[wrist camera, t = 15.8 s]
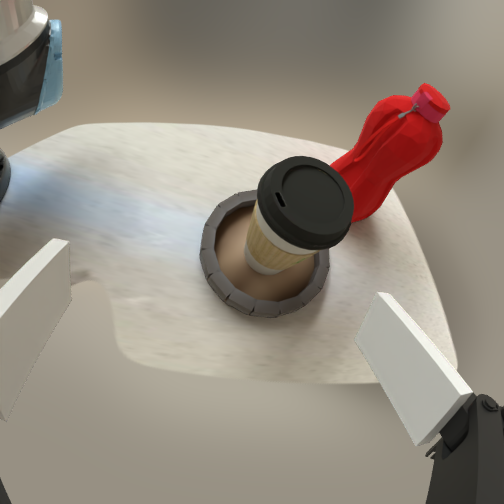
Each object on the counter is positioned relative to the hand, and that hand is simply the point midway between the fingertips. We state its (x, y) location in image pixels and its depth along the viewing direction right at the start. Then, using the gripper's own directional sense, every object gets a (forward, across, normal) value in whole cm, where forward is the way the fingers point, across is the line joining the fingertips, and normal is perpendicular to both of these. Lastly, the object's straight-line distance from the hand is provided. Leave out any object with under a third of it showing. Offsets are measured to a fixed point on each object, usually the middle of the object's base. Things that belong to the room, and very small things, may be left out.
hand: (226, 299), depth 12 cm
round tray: (+27, +8, -9) cm, 30 cm away
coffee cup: (+27, +9, -8) cm, 29 cm away
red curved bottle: (+36, +21, -1) cm, 41 cm away
